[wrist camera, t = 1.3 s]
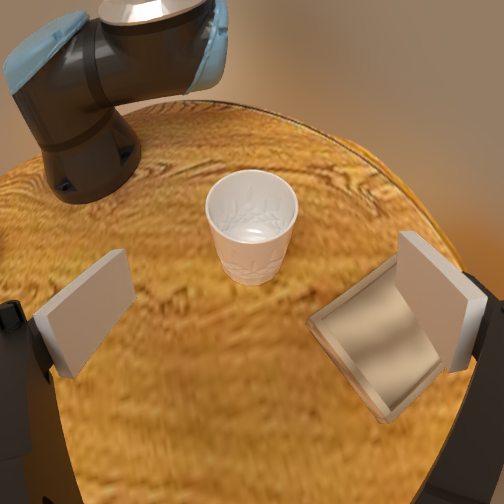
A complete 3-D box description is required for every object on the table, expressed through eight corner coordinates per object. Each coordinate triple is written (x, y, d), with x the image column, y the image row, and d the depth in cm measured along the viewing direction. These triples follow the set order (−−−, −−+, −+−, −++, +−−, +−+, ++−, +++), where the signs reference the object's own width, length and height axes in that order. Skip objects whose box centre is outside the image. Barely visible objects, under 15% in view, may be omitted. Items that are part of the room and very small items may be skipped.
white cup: (208, 237, 37) (197, 179, 29) (274, 221, 38) (280, 162, 30) (225, 299, 34) (216, 253, 25) (296, 280, 35) (312, 230, 26)
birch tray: (305, 324, 32) (309, 317, 30) (391, 260, 36) (399, 250, 34) (379, 423, 27) (389, 423, 25) (457, 344, 31) (469, 339, 28)
